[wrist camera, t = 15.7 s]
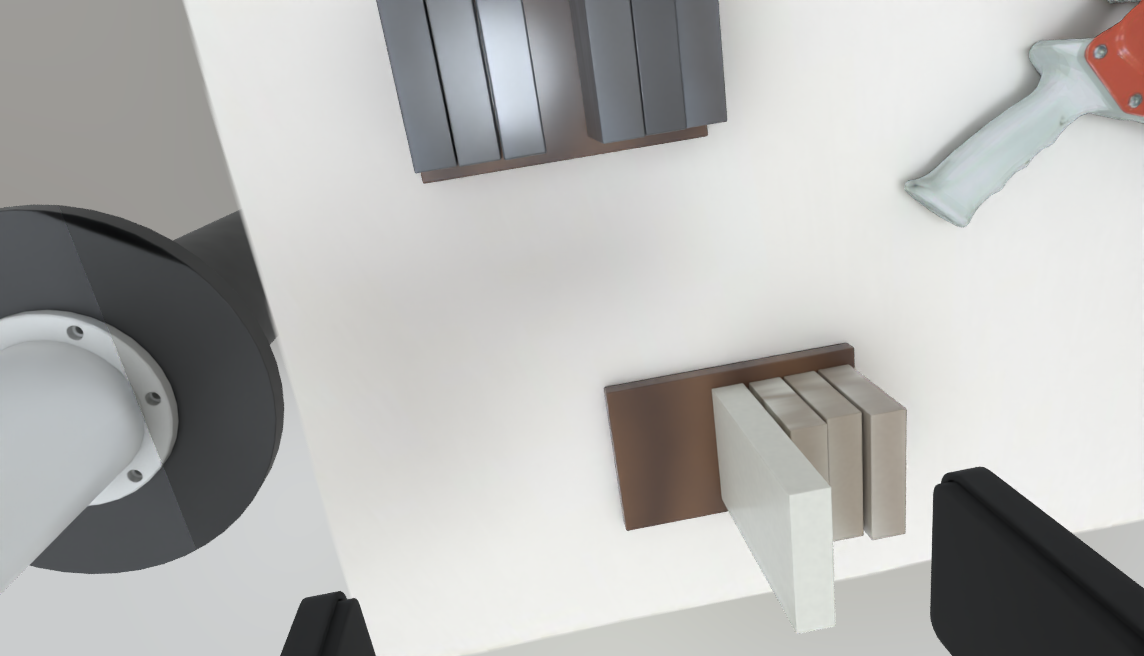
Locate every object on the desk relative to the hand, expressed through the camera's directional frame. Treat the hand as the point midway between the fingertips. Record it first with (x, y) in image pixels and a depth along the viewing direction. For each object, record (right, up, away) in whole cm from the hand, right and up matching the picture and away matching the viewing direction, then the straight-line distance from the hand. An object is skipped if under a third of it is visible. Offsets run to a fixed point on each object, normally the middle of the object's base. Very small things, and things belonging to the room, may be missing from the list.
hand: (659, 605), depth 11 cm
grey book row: (-3, +18, +26) cm, 32 cm away
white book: (+9, -3, +33) cm, 34 cm away
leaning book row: (+9, -3, +34) cm, 35 cm away
